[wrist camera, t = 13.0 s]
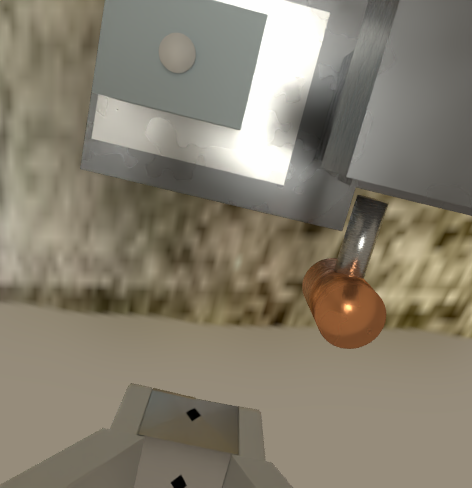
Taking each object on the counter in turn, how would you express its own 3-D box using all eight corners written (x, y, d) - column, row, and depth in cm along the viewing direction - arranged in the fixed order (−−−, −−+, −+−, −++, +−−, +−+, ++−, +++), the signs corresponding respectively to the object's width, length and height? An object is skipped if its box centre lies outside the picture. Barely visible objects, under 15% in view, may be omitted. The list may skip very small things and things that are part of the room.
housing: (123, 101, 25) (88, 91, 19) (138, 10, 24) (106, -32, 18) (238, 130, 26) (241, 129, 20) (259, 42, 25) (268, 12, 18)
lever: (295, 305, 23) (308, 340, 19) (331, 186, 21) (353, 198, 17) (349, 317, 23) (373, 355, 19) (388, 200, 21) (423, 215, 17)
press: (86, 167, 28) (-161, 227, 10) (123, -76, 24) (-152, -602, 7) (421, 247, 29) (699, 416, 12) (500, 29, 26) (1054, -183, 8)
